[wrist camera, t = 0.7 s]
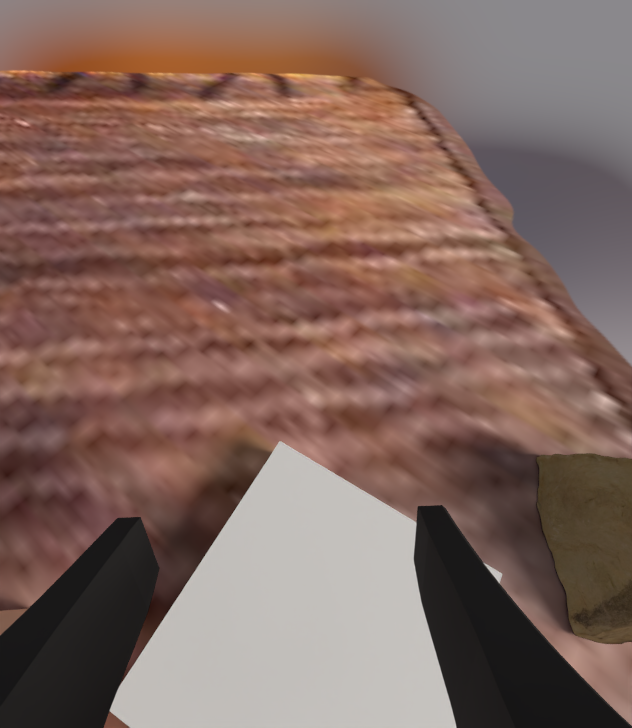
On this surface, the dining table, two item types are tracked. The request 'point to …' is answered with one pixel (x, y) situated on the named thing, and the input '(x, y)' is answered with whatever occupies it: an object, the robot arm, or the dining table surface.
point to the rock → (590, 539)
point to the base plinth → (296, 618)
